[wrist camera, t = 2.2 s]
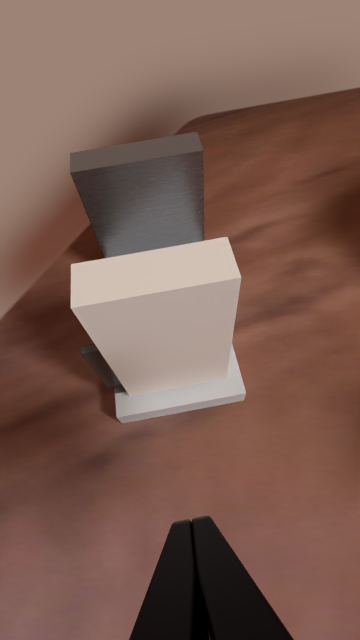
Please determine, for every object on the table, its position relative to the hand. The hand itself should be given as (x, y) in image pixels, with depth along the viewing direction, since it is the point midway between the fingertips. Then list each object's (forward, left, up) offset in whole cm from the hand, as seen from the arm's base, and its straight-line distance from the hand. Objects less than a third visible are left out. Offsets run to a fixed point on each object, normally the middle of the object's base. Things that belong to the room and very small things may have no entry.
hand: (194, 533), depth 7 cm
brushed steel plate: (+19, +6, -11) cm, 22 cm away
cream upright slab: (+9, +3, -10) cm, 14 cm away
